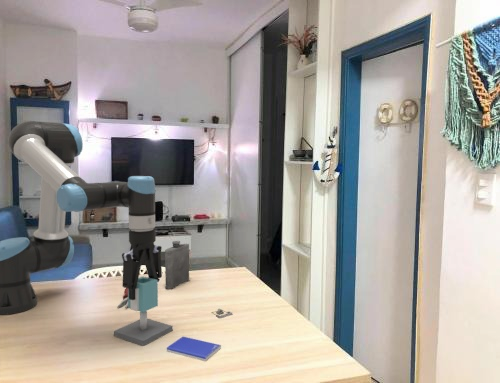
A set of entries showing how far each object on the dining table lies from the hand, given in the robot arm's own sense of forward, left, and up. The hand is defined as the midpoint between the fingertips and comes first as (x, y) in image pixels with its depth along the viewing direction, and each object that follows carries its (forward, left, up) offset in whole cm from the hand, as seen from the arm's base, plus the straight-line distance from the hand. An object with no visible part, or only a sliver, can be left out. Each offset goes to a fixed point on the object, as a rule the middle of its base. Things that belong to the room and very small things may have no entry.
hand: (143, 306), depth 121 cm
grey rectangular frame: (+14, +26, -9) cm, 31 cm away
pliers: (-27, +20, -9) cm, 34 cm away
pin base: (0, 0, -8) cm, 8 cm away
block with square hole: (0, 0, 0) cm, 0 cm away
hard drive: (+19, 0, -9) cm, 21 cm away
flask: (-23, +41, -9) cm, 48 cm away
